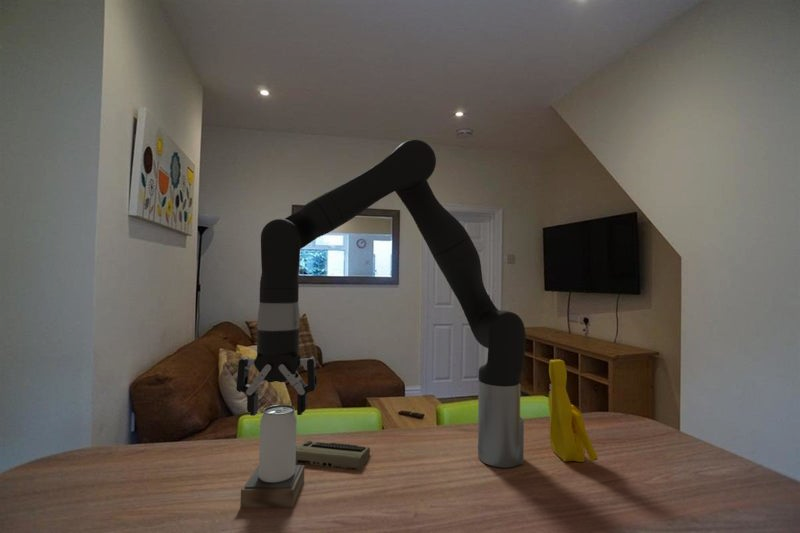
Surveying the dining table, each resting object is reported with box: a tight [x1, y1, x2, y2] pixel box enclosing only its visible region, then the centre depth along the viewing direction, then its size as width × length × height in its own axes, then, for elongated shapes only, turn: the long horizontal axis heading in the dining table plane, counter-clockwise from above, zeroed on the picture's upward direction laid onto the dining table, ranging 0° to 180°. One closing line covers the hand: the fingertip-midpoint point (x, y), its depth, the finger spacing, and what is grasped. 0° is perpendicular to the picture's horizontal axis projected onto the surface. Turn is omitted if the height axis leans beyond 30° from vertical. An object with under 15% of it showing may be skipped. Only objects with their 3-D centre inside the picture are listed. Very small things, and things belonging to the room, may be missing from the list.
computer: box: [295, 440, 371, 471], centre depth 86 cm, size 16×8×3 cm, turn 79°
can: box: [258, 404, 298, 483], centre depth 71 cm, size 6×6×12 cm
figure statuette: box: [547, 358, 599, 463], centre depth 88 cm, size 18×8×22 cm, turn 4°
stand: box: [239, 464, 306, 509], centre depth 71 cm, size 9×9×3 cm
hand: (277, 414), depth 71 cm, fingers open, 8 cm apart
